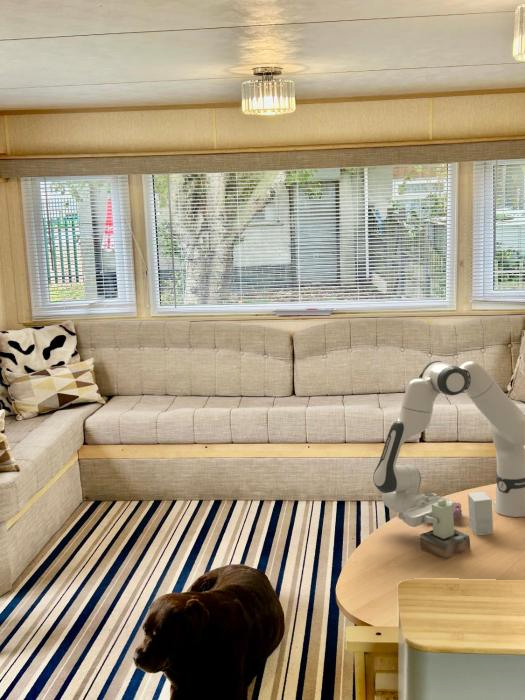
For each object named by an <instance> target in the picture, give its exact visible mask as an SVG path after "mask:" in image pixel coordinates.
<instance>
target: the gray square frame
mask: <svg viewBox="0 0 525 700" xmlns="http://www.w3.org/2000/svg"><path fill="white" fill-rule="evenodd" d="M418 539H419V549H420V550H422V551H424V552H426V553H427V554H431V555H433V556H434V557H436V558H439V559H441V558H442V559H441V560H443V559H444V561H447V560H449V559H452V558H454V557H457V556H458V555H461V554H463V553H465V552H467V550H468V551H469V550H471V539H470V535H469V534H467V533H464V532H462V531H459V530H457V529H455V528H454V535H452V536H450V537H447V538H445V539H443V538H440V537H438V536H436V535H434V534H433V529H432V530H428V531H427V532H423V533H421V534H419V538H418ZM462 552H463V553H462Z"/></svg>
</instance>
